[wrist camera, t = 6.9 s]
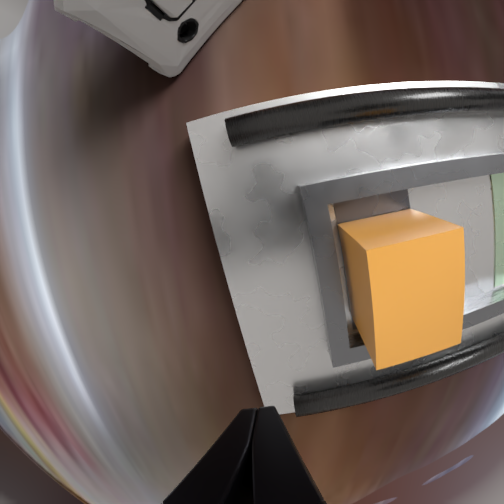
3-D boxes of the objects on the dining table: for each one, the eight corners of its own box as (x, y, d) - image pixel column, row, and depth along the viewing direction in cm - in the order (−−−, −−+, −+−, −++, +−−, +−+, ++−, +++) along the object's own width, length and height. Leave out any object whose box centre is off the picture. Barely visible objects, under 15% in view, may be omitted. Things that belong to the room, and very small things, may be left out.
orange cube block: (410, 208, 14) (463, 227, 9) (418, 298, 15) (460, 342, 10) (337, 224, 14) (365, 250, 10) (351, 315, 16) (376, 370, 11)
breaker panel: (526, 91, 13) (556, 85, 9) (537, 312, 17) (560, 329, 14) (196, 128, 16) (176, 118, 12) (268, 396, 20) (266, 432, 17)
